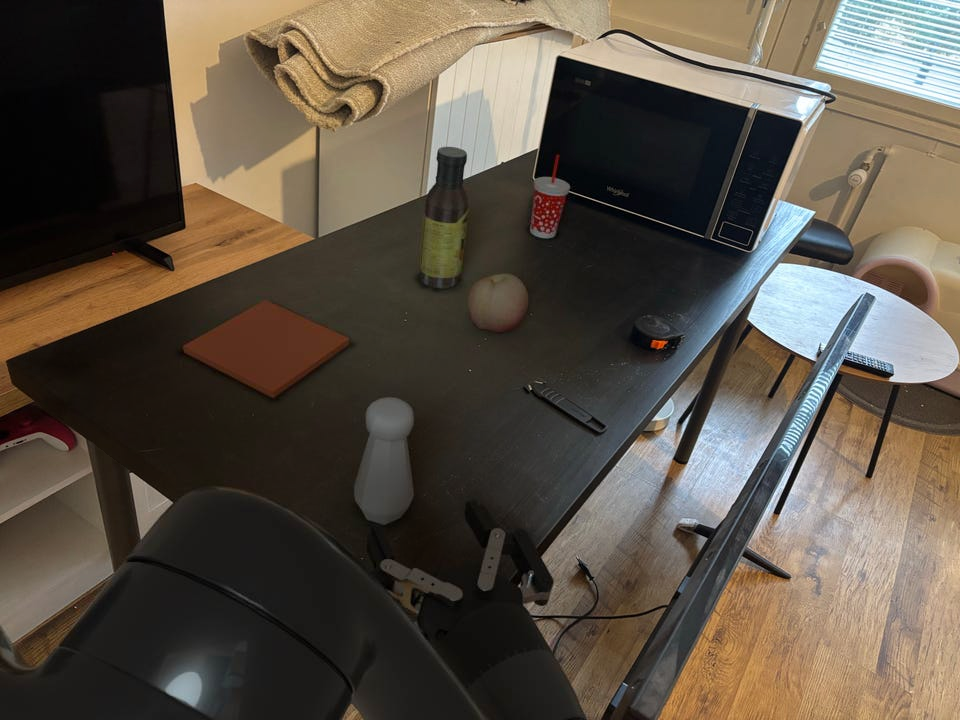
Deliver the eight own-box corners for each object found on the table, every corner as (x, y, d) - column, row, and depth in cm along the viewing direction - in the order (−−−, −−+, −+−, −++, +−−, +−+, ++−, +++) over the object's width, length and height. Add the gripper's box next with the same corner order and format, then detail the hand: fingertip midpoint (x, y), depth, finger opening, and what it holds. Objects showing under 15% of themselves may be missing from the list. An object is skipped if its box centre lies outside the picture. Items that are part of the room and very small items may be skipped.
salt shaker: (352, 487, 74) (356, 386, 67) (408, 485, 76) (419, 386, 68) (354, 532, 70) (359, 429, 62) (414, 529, 71) (426, 428, 64)
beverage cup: (525, 222, 131) (539, 146, 123) (559, 227, 132) (575, 151, 124) (525, 237, 126) (540, 159, 118) (560, 242, 127) (577, 164, 119)
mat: (273, 398, 84) (272, 391, 83) (183, 352, 89) (182, 345, 88) (349, 344, 94) (349, 338, 94) (265, 305, 99) (265, 299, 98)
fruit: (485, 305, 106) (492, 256, 102) (532, 327, 103) (542, 277, 99) (453, 327, 101) (460, 276, 96) (502, 351, 98) (512, 299, 93)
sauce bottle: (464, 290, 109) (482, 161, 98) (424, 292, 107) (437, 160, 96) (452, 269, 114) (468, 143, 103) (413, 270, 112) (424, 142, 101)
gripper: (608, 625, 51) (504, 468, 63) (418, 695, 45) (341, 508, 57) (585, 684, 56) (491, 527, 67) (409, 756, 50) (339, 570, 61)
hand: (422, 518), depth 62 cm, fingers open, 8 cm apart
